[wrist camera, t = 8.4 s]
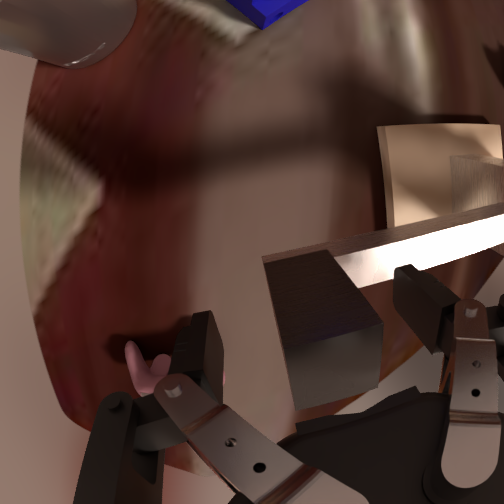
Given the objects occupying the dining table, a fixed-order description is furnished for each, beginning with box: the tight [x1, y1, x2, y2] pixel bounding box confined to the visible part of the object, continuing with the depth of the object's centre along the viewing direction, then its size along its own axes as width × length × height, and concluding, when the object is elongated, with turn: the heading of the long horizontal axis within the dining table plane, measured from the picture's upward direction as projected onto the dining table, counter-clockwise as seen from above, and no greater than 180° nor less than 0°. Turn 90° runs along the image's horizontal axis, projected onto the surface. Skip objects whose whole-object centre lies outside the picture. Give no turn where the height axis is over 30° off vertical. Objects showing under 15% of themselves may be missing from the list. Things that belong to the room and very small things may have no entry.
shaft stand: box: [377, 123, 504, 256], centre depth 17 cm, size 13×16×14 cm
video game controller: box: [125, 341, 225, 397], centre depth 26 cm, size 10×5×7 cm, turn 107°
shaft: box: [262, 202, 504, 411], centre depth 12 cm, size 3×18×8 cm, turn 102°
